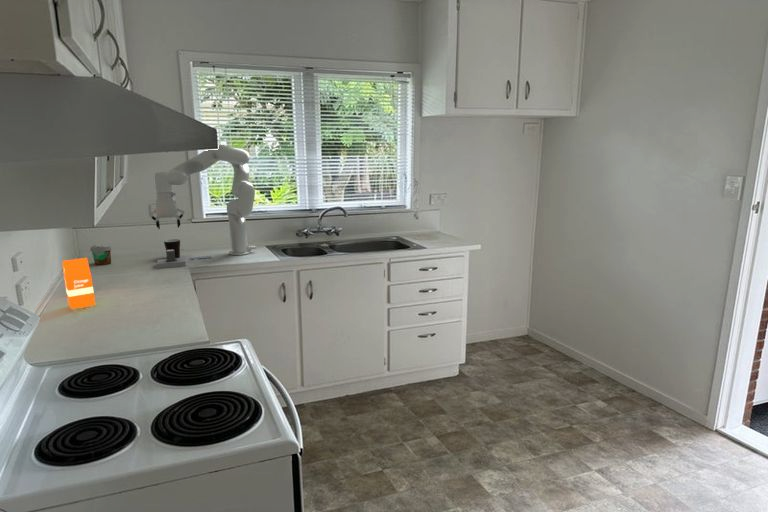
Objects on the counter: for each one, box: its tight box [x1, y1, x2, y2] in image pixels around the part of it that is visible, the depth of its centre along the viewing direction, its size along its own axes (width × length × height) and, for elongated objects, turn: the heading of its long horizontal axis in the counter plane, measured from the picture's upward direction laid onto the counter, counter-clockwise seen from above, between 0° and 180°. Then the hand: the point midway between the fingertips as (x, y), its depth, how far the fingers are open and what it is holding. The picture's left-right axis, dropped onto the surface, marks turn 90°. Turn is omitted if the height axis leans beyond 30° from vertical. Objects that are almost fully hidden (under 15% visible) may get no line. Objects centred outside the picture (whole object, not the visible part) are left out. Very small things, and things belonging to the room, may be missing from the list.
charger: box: [165, 249, 176, 262], centre depth 274 cm, size 4×4×8 cm
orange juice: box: [62, 257, 96, 309], centre depth 206 cm, size 8×9×20 cm
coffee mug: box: [163, 238, 181, 258], centre depth 293 cm, size 12×9×10 cm
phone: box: [190, 255, 212, 261], centre depth 290 cm, size 11×6×1 cm, turn 112°
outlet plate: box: [156, 257, 187, 269], centre depth 275 cm, size 14×10×2 cm
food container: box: [89, 244, 112, 266], centre depth 277 cm, size 12×6×10 cm, turn 68°
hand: (168, 227), depth 271 cm, fingers open, 9 cm apart
